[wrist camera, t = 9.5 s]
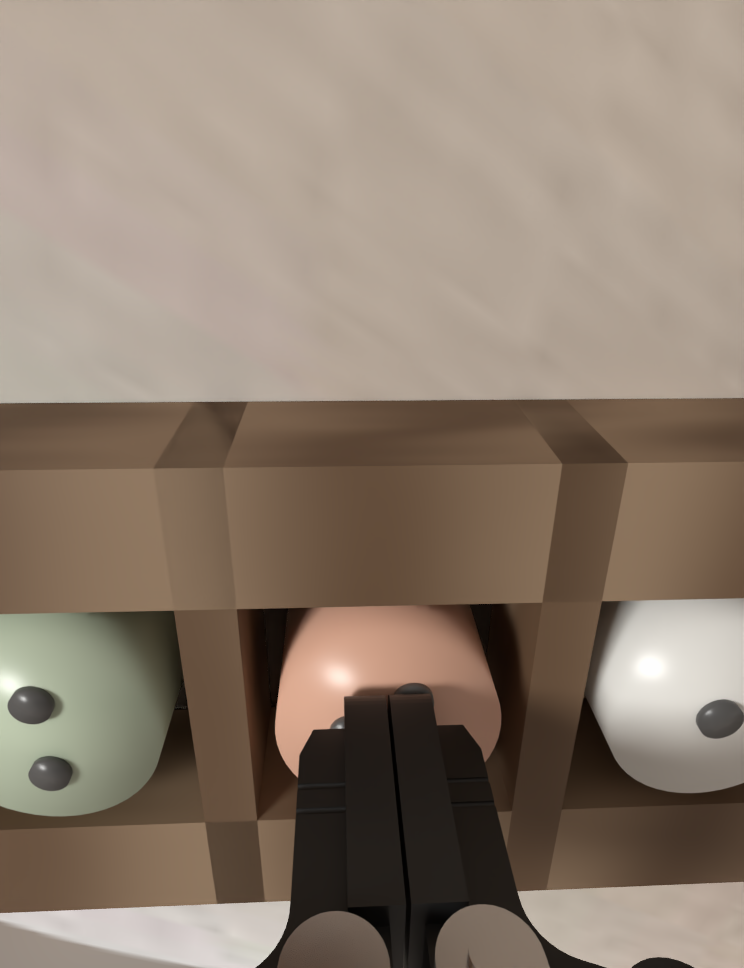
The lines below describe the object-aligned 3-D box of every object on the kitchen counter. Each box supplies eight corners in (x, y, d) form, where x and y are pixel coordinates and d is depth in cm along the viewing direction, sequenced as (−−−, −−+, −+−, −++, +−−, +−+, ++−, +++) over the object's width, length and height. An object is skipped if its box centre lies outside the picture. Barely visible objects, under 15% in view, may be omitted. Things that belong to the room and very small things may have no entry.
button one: (758, 536, 14) (866, 630, 11) (714, 682, 16) (797, 795, 13) (571, 539, 14) (633, 635, 11) (548, 686, 15) (595, 803, 13)
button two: (182, 546, 13) (142, 648, 11) (203, 697, 15) (172, 819, 12) (-20, 549, 13) (-118, 654, 10) (23, 701, 15) (-50, 827, 12)
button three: (477, 542, 14) (514, 641, 11) (463, 691, 15) (492, 810, 12) (282, 546, 13) (267, 647, 11) (290, 696, 15) (280, 818, 12)
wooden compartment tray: (869, 397, 13) (1011, 458, 10) (741, 766, 17) (816, 878, 14) (-142, 404, 12) (-282, 473, 9) (-10, 791, 16) (-78, 916, 14)
